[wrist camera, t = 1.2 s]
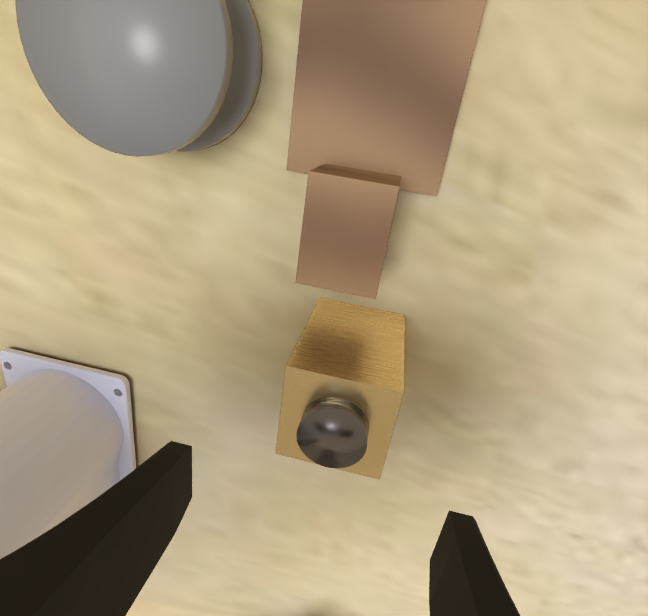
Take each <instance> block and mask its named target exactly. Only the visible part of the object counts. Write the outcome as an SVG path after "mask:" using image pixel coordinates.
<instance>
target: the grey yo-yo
mask: <svg viewBox="0 0 648 616" xmlns="http://www.w3.org/2000/svg"><path fill="white" fill-rule="evenodd" d="M16 14H17V23H18V28H19V33H20V38H21V42H22V45H23V48H24V52H25V55H26V58H27V60H28V63H29V65H30V68H31V70H32V73H33V74H34V76H35V78H36V80H37V82H38V84H39V86H40V88H41V90H42V91H43V93H44V94H45V96H46V98H47V99H48V101H49V102H50V103H51V104H52V106H53V107H54V108H55V110H56V111H57V112H58V113H59V115H60V116H61V117H62V118H63V119H64V120H65V121H66V122H67V123H68V124H69V125H70V126H71V127H72V128H74V129H75V130H76V131H77V132H78V133H79V134H81V135H82V136H84V137H85V138H86V139H88V140H89V141H91V142H93V143H95V144H96V145H98V146H100V147H102V148H104V149H107V150H109V151H112V152H115V153H119V154H123V155H129V156H152V155H160V154H165V153H170V152H173V151H192V150H199V149H204V148H208V147H210V146H213V145H216V144H218V143H219V142H221V141H223V140H225V139H226V138H227V137H229V136H230V135H231V134H232V133H234V132H235V131H236V129H237V128H238V127H239V126H240V125H241V124H242V123H243V121H244V120H245V118H246V117H247V115H248V114H249V112H250V110H251V108H252V106H253V104H254V101H255V98H256V95H257V92H258V88H259V84H260V79H261V71H262V47H261V38H260V33H259V28H258V24H257V21H256V17H255V14H254V11H253V9H252V6H251V4H250V2H249V0H16Z"/></svg>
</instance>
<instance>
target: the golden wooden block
mask: <svg viewBox="0 0 648 616" xmlns="http://www.w3.org/2000/svg"><path fill="white" fill-rule="evenodd" d="M404 336H405V315H402V314H397V313H392V312H387V311H382V310H377V309H372V308H367V307H363V306H358V305H353V304H348V303H343V302H338V301H333V300H329V299H324V298H319V300H318V302H317V304H316V306H315V308H314V310H313V312H312V314H311V316H310V318H309V320H308V322H307V324H306V326H305V329H304V331H303V333H302V335H301V337H300V339H299V341H298V343H297V345H296V347H295V349H294V351H293V353H292V355H291V357H290V359H289V361H288V363H287V365H286V369H285V378H284V386H283V395H282V403H281V412H280V420H279V429H278V437H277V446H276V454H280V455H284V456H288V457H292V458H296V459H300V460H304V461H308V462H312V463H316V464H319V465H322V466H325V467H329V468H336V469H340V470H344V471H348V472H352V473H356V474H360V475H364V476H368V477H372V478H376V479H380V477H381V473H382V470H383V466H384V462H385V459H386V455H387V452H388V448H389V444H390V441H391V437H392V434H393V430H394V426H395V423H396V419H397V416H398V412H399V408H400V405H401V401H402V398H403V394H404Z"/></svg>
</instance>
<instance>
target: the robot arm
mask: <svg viewBox="0 0 648 616" xmlns="http://www.w3.org/2000/svg"><path fill="white" fill-rule="evenodd" d="M0 362H1V366H2V370H3V374H4V379H5V383H6V388H4V389H3V390H1V391H0V616H125V615H126V614H127V612H128V610H129V609H130V607H131V606H132V604H133V602H134V601H135V599H136V597H137V596H138V594H139V592H140V591H141V589H142V587H143V586H144V584H145V582H146V581H147V579H148V578H149V576H150V574H151V573H152V571H153V569H154V568H155V566H156V564H157V563H158V561H159V559H160V558H161V556H162V554H163V553H164V551H165V549H166V548H167V546H168V544H169V543H170V541H171V539H172V538H173V536H174V534H175V532H176V530H177V528H178V526H179V524H180V522H181V520H182V518H183V516H184V513H185V511H186V509H187V507H188V505H189V502H190V500H191V498H192V446H189V445H185V444H181V443H177V442H173V441H171V442H169V443H168V444H166V445H165V446H164V447H163V448H161V449H160V450H159V451H157V452H156V453H155V454H154V455H152V456H151V457H150V458H149V459H147V460H146V461H145V462H144V463H142V464H141V465H140V466H138V467H137V468H136V458H135V445H134V433H133V421H132V409H131V397H130V384H129V381H128V379H127V378H126V377H125V376H123V375H120V374H116V373H111V372H107V371H103V370H99V369H95V368H90V367H86V366H82V365H78V364H74V363H69V362H65V361H61V360H57V359H53V358H49V357H44V356H40V355H36V354H32V353H28V352H23V351H19V350H15V349H11V348H6V349H4V350H2V351H1V352H0ZM120 390H121V391H122V392H121V391H120ZM429 606H430V616H520V614H519V612H518V610H517V608H516V606H515V604H514V602H513V600H512V599H511V597H510V595H509V593H508V591H507V589H506V587H505V584H504V582H503V580H502V578H501V576H500V574H499V572H498V570H497V568H496V565H495V563H494V561H493V559H492V557H491V555H490V552H489V550H488V548H487V546H486V544H485V541H484V539H483V537H482V534H481V532H480V530H479V527H478V525H477V523H476V521H475V519H474V518H473V516H469V515H465V514H461V513H457V512H453V511H449V513H448V515H447V518H446V520H445V523H444V525H443V528H442V530H441V533H440V536H439V538H438V541H437V543H436V546H435V548H434V551H433V553H432V556H431V559H430V582H429Z"/></svg>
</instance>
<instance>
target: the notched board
mask: <svg viewBox="0 0 648 616" xmlns="http://www.w3.org/2000/svg"><path fill="white" fill-rule="evenodd" d="M485 4H486V0H303V4H302V14H301V25H300V35H299V46H298V56H297V67H296V77H295V88H294V98H293V109H292V119H291V130H290V140H289V150H288V161H287V170H288V171H294V172H300V173H305V174H308V182H307V191H306V199H305V208H304V216H303V224H302V233H301V241H300V250H299V258H298V267H297V275H296V283H299V284H303V285H308V286H313V287H318V288H323V289H328V290H333V291H338V292H343V293H348V294H353V295H358V296H363V297H368V298H373V299H376V294H377V289H378V285H379V280H380V275H381V271H382V266H383V261H384V257H385V252H386V247H387V243H388V238H389V233H390V229H391V224H392V219H393V215H394V210H395V205H396V201H397V196H398V191H399V190H404V191H410V192H415V193H421V194H427V195H433V196H437V192H438V188H439V184H440V180H441V177H442V173H443V169H444V165H445V161H446V157H447V153H448V149H449V145H450V141H451V137H452V133H453V129H454V125H455V122H456V118H457V114H458V110H459V106H460V102H461V98H462V94H463V90H464V86H465V82H466V78H467V74H468V70H469V67H470V63H471V59H472V55H473V51H474V47H475V43H476V39H477V35H478V31H479V27H480V23H481V19H482V15H483V12H484V8H485Z"/></svg>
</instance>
